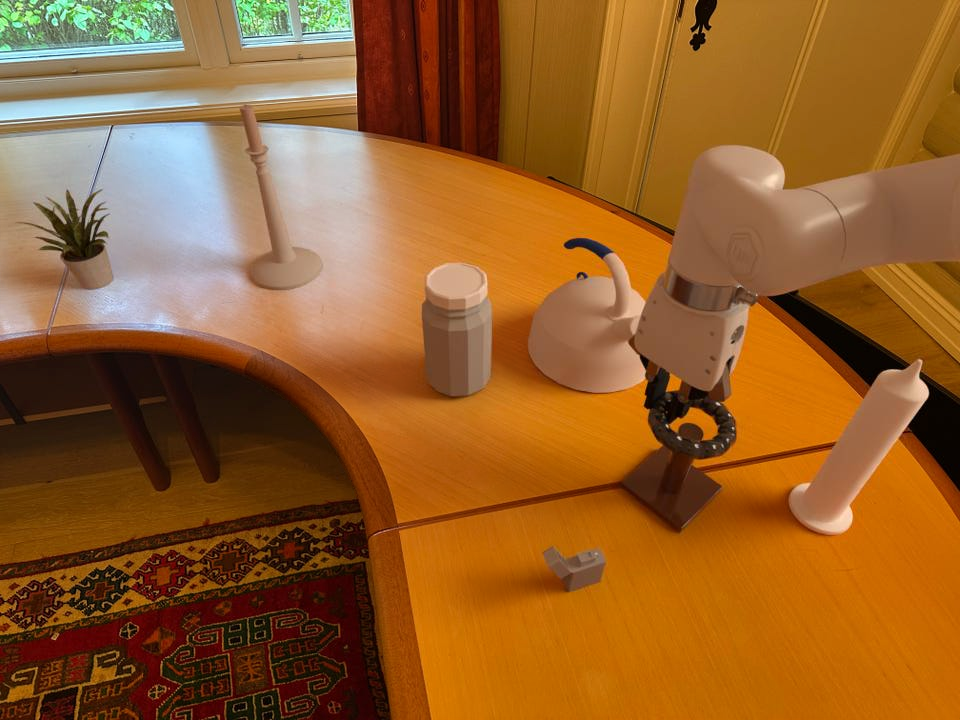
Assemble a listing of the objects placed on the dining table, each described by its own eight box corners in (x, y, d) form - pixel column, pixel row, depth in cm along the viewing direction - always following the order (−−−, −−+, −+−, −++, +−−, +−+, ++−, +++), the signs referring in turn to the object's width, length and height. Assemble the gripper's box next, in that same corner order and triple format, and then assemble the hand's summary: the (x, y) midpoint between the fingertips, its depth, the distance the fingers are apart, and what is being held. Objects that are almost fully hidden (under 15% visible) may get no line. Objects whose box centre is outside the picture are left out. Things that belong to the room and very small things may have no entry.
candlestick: (336, 268, 112) (305, 103, 92) (276, 298, 105) (228, 127, 85) (297, 243, 119) (259, 83, 98) (238, 270, 112) (185, 104, 91)
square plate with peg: (721, 491, 76) (747, 434, 69) (679, 533, 72) (703, 477, 64) (661, 449, 81) (680, 391, 74) (619, 486, 77) (634, 429, 69)
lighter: (594, 567, 68) (604, 528, 63) (601, 581, 67) (612, 543, 62) (536, 586, 67) (541, 548, 61) (542, 601, 65) (548, 563, 60)
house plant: (159, 257, 115) (125, 176, 104) (132, 300, 105) (91, 216, 94) (82, 258, 114) (40, 177, 103) (47, 303, 104) (-4, 218, 93)
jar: (436, 408, 86) (429, 308, 74) (418, 364, 93) (410, 265, 81) (500, 392, 89) (504, 293, 76) (478, 350, 95) (479, 253, 83)
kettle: (569, 412, 86) (584, 312, 74) (505, 327, 100) (509, 231, 87) (684, 372, 92) (716, 273, 80) (609, 297, 106) (626, 203, 94)
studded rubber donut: (750, 431, 69) (755, 419, 67) (702, 477, 64) (707, 466, 62) (678, 385, 74) (682, 374, 72) (629, 425, 69) (632, 414, 68)
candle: (777, 488, 76) (863, 338, 59) (830, 483, 77) (930, 333, 60) (806, 538, 71) (908, 389, 54) (862, 532, 72) (981, 383, 55)
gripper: (802, 302, 56) (742, 432, 68) (658, 233, 64) (628, 360, 77) (761, 337, 52) (705, 468, 64) (613, 259, 61) (590, 388, 73)
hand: (664, 408), depth 71 cm, fingers closed on studded rubber donut, 2 cm apart
